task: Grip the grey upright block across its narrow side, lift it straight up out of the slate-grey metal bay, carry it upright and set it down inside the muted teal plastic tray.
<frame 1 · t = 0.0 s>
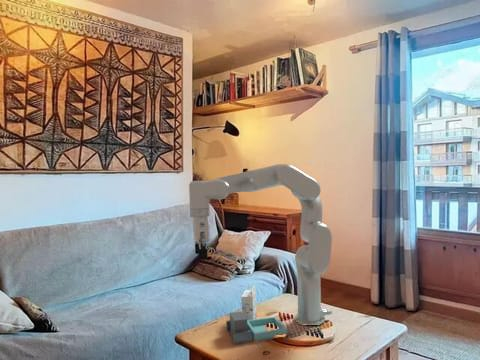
hand: (201, 256, 152), 31 cm above the table, tool pointing down, fingers open, 9 cm apart
ink cartridge box: (249, 320, 166), on the table
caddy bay: (238, 335, 152), on the table
grey upright block: (238, 336, 152), on the table
tray: (265, 332, 154), on the table
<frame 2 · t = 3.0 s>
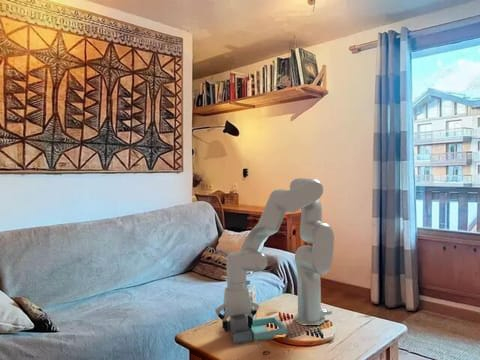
hand: (237, 328, 151), 3 cm above the table, tool pointing down, fingers open, 9 cm apart
nothing on the table moved.
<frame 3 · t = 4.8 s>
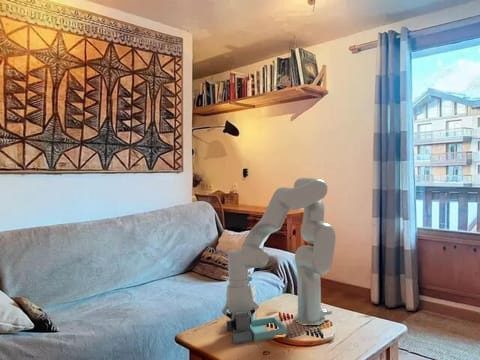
hand: (241, 327, 152), 3 cm above the table, tool pointing down, fingers closed on grey upright block, 5 cm apart
grey upright block: (242, 334, 152), on the table, touching gripper
everything else where it was.
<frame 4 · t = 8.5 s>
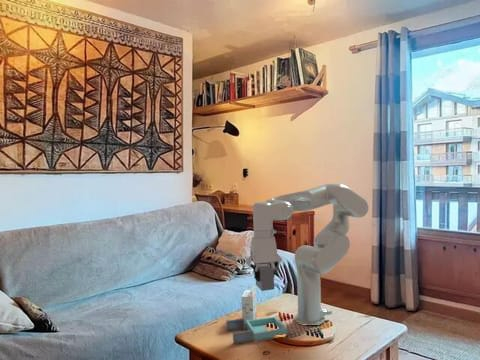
hand: (264, 279, 153), 21 cm above the table, tool pointing down, fingers closed on grey upright block, 5 cm apart
grey upright block: (264, 286, 154), point 18 cm above the table, touching gripper
everything else where it was.
when the fingers open (4 cm above the table, at t = 12.2 s): grey upright block stays where it is, resting on tray.
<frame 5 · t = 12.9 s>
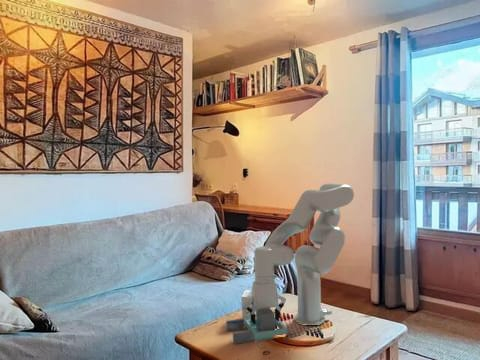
hand: (265, 321, 154), 4 cm above the table, tool pointing down, fingers open, 9 cm apart
grey upright block: (265, 330, 154), point 1 cm above the table, touching tray
everything else where it was.
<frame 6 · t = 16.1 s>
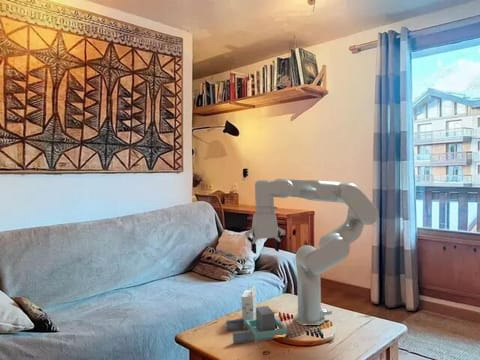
hand: (265, 251, 160), 30 cm above the table, tool pointing down, fingers open, 9 cm apart
nothing on the table moved.
at the end: grey upright block 0.1 cm off-centre on the tray, point 0.8 cm above the tray's base; grey upright block tilted 0°; the gripper is holding nothing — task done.
